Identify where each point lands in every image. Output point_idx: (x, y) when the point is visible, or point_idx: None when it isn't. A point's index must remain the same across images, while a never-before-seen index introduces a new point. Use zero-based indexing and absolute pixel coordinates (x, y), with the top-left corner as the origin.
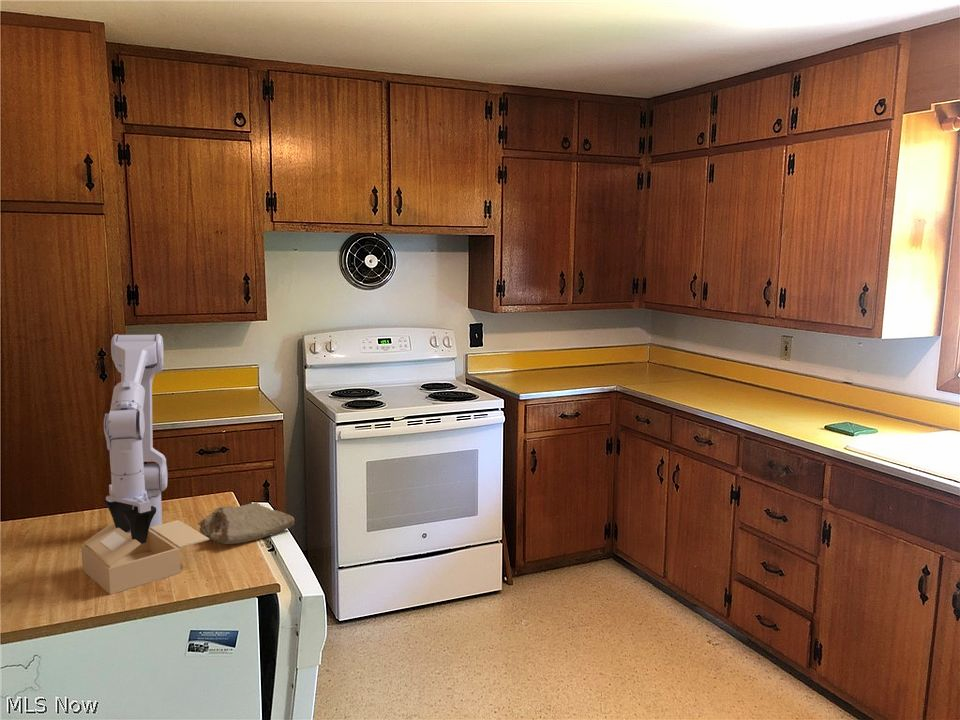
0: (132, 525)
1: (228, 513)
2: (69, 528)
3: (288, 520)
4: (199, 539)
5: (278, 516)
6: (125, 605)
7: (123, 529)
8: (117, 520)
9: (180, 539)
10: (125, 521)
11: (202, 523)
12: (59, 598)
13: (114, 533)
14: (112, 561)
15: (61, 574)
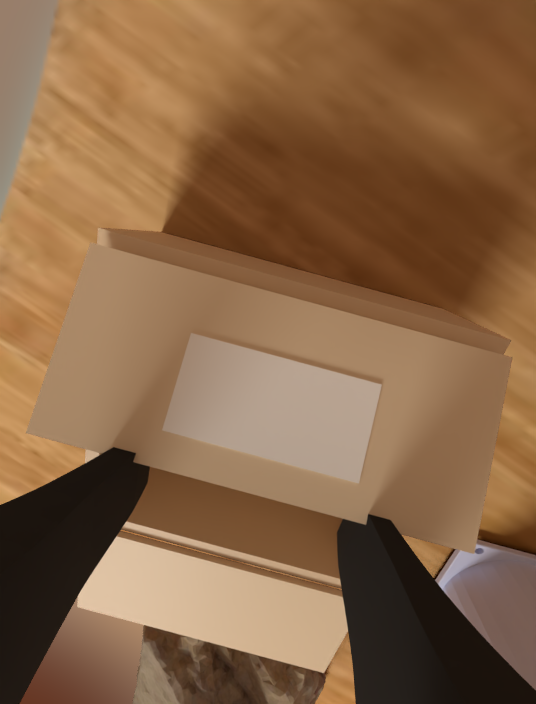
0: None
1: None
2: None
3: None
4: (92, 590)
5: None
6: (43, 208)
7: (349, 526)
8: (383, 571)
9: (147, 568)
10: (356, 585)
11: (287, 672)
12: (299, 82)
13: (335, 467)
14: (99, 262)
15: (496, 238)
